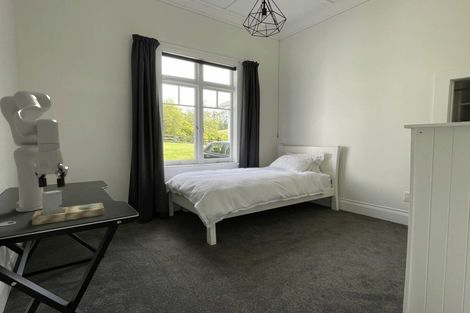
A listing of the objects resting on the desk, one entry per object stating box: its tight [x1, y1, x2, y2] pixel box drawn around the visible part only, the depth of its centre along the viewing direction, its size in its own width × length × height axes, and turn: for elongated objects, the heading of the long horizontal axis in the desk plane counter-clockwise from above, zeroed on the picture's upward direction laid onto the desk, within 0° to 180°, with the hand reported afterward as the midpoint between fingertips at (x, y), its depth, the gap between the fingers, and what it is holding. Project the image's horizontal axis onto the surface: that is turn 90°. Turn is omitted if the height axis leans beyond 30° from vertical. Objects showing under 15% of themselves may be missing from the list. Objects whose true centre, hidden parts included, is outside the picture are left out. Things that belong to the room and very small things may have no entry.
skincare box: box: [42, 190, 63, 216], centre depth 107 cm, size 6×4×12 cm
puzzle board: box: [31, 202, 105, 226], centre depth 110 cm, size 26×12×3 cm, turn 123°
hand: (52, 187), depth 106 cm, fingers open, 9 cm apart
